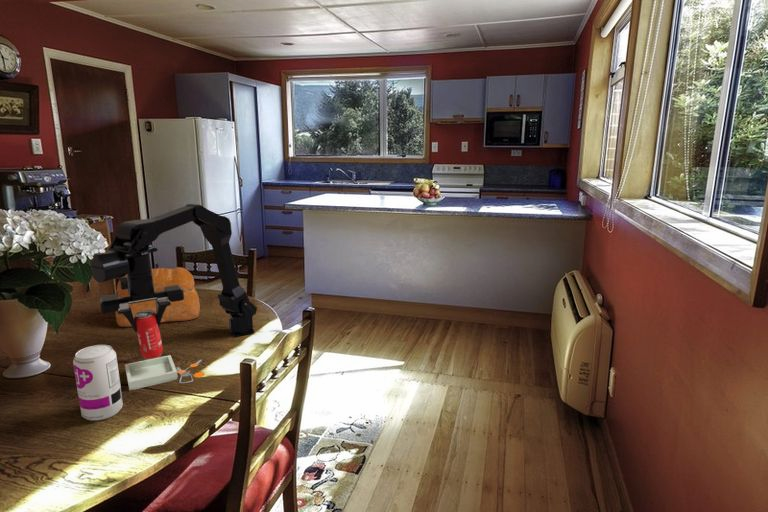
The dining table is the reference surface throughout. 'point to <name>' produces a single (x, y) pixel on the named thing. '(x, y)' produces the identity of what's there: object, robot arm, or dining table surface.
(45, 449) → the dining table surface
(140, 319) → the beverage can
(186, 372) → the key chain
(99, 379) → the supplement can
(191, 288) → the bread
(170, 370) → the tray
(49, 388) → the dining table surface
